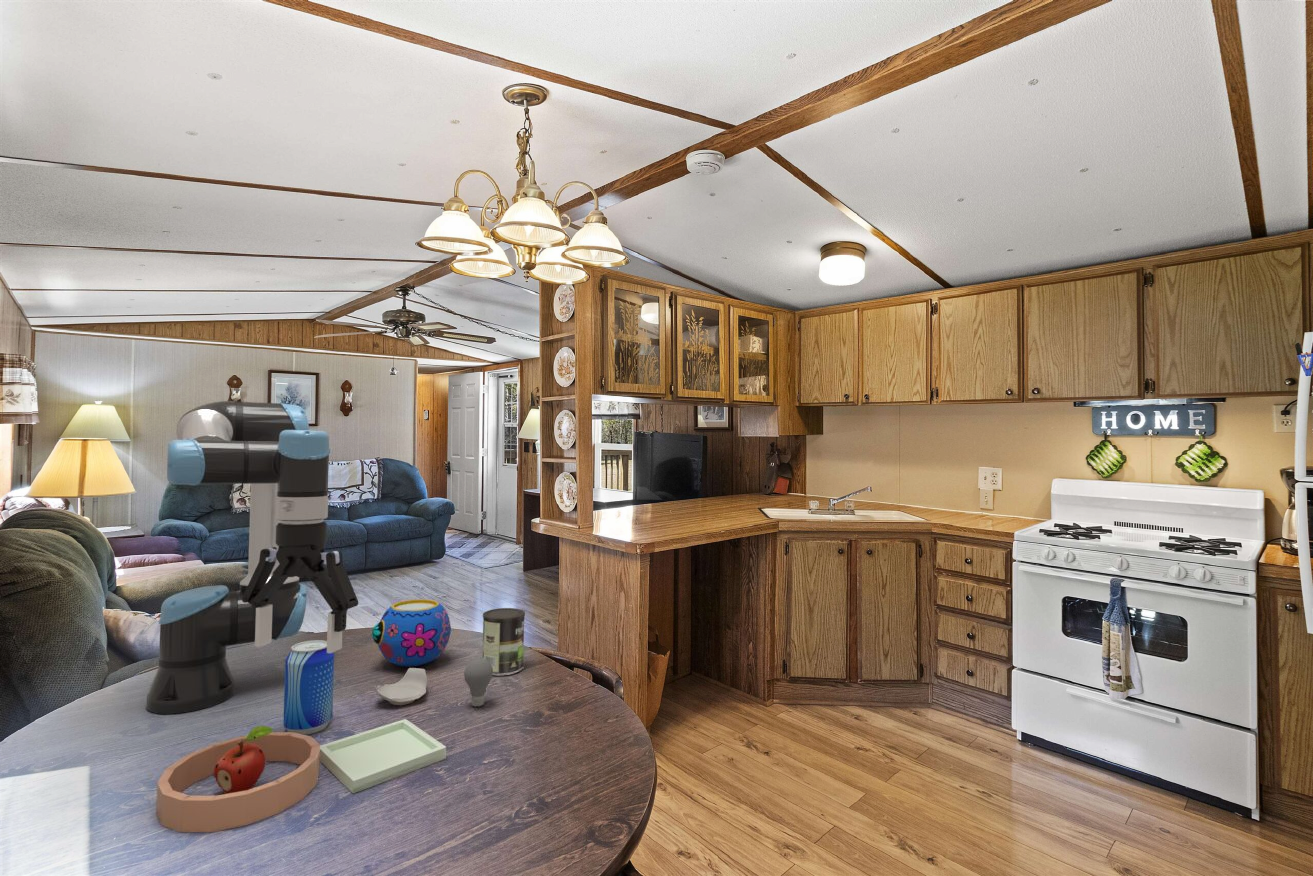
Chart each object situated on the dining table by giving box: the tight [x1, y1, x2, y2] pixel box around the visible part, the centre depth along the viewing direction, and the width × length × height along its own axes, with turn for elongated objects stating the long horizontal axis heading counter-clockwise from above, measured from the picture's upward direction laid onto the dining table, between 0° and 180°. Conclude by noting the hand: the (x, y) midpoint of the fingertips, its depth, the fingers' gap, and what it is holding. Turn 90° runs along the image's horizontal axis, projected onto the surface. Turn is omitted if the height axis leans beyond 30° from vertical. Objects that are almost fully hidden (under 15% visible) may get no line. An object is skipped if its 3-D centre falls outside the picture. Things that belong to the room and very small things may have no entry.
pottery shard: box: [373, 667, 428, 706], centre depth 136 cm, size 10×11×5 cm
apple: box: [213, 725, 275, 794], centre depth 99 cm, size 8×7×10 cm
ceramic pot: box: [371, 598, 452, 668], centre depth 158 cm, size 18×18×15 cm
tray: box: [320, 718, 447, 794], centre depth 110 cm, size 16×16×2 cm
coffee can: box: [481, 607, 526, 674], centre depth 155 cm, size 10×10×14 cm
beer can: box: [283, 639, 335, 735], centre depth 122 cm, size 8×8×16 cm
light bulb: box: [463, 657, 493, 707], centre depth 133 cm, size 6×6×10 cm
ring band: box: [155, 731, 321, 833], centre depth 99 cm, size 21×21×4 cm
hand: (298, 648), depth 104 cm, fingers open, 13 cm apart
